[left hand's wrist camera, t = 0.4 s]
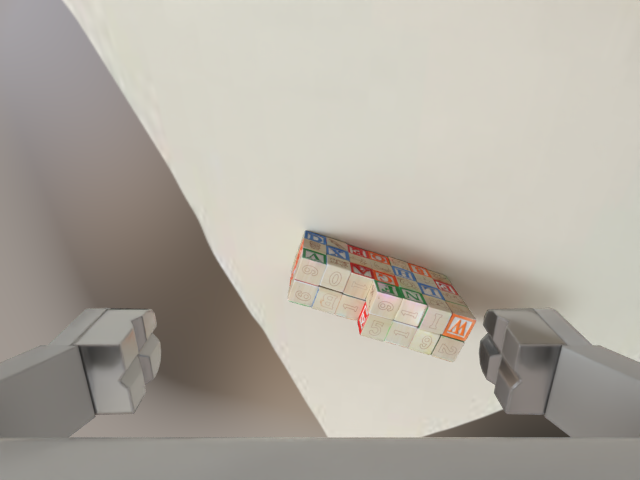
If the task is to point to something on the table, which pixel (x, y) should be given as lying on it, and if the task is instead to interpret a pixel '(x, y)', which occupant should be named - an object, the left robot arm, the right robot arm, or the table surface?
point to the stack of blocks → (381, 296)
